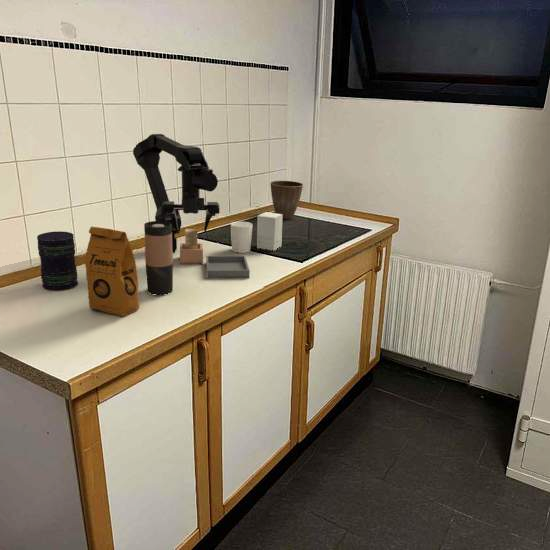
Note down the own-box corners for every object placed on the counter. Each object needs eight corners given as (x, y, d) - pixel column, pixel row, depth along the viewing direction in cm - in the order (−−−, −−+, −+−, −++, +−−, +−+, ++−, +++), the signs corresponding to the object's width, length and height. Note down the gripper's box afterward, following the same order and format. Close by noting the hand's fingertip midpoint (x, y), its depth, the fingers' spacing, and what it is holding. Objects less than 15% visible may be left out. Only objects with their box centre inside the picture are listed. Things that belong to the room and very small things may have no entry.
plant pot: (299, 214, 256) (301, 181, 251) (302, 221, 242) (304, 186, 237) (268, 213, 255) (269, 180, 250) (269, 221, 241) (271, 185, 236)
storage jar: (41, 281, 159) (36, 232, 154) (76, 277, 163) (72, 230, 158) (42, 292, 150) (36, 241, 145) (79, 289, 154) (75, 239, 149)
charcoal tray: (207, 278, 167) (207, 270, 166) (206, 262, 181) (206, 255, 180) (249, 277, 169) (249, 270, 168) (244, 262, 183) (245, 255, 182)
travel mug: (178, 288, 158) (176, 222, 151) (165, 297, 151) (163, 228, 144) (155, 284, 160) (153, 219, 153) (141, 293, 153) (138, 225, 146)
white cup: (253, 248, 200) (253, 222, 197) (250, 254, 193) (250, 227, 189) (232, 246, 201) (232, 220, 197) (228, 252, 193) (228, 226, 190)
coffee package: (120, 321, 135) (115, 237, 127) (83, 311, 140) (76, 229, 132) (146, 308, 143) (142, 228, 136) (110, 298, 148) (104, 221, 141)
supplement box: (282, 246, 204) (283, 214, 199) (273, 251, 197) (275, 217, 193) (264, 243, 207) (265, 211, 202) (256, 248, 200) (257, 215, 196)
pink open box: (180, 264, 179) (179, 249, 177) (180, 257, 186) (180, 243, 184) (202, 263, 180) (202, 249, 178) (202, 257, 187) (202, 243, 186)
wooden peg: (185, 260, 181) (185, 232, 177) (185, 257, 184) (185, 228, 181) (197, 260, 181) (197, 232, 178) (197, 256, 185) (197, 228, 182)
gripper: (160, 190, 166) (161, 239, 171) (220, 191, 169) (220, 239, 174) (162, 184, 176) (163, 230, 181) (218, 185, 179) (218, 230, 184)
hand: (191, 232), depth 180 cm, fingers open, 9 cm apart
